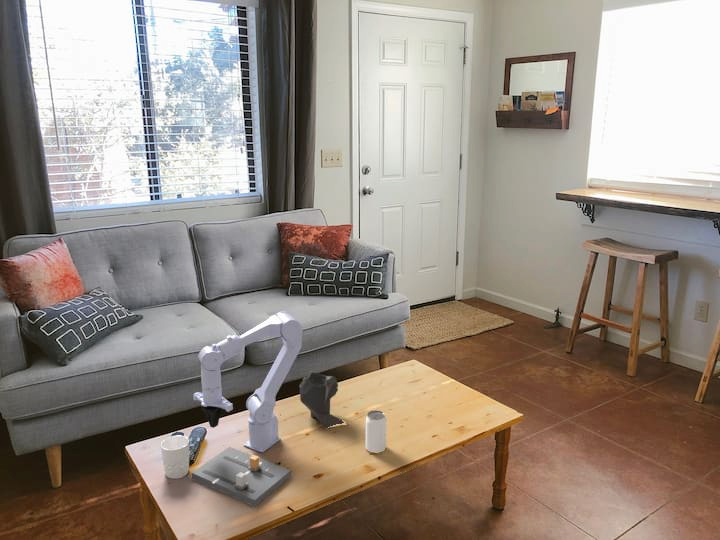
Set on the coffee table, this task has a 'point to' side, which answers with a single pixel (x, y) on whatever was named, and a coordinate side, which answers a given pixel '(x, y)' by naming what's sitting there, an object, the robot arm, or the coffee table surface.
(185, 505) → the coffee table surface
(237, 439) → the coffee table surface
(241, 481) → the fader tab grey
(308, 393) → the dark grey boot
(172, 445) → the white cup
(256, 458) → the fader tab orange
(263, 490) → the console board
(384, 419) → the can
